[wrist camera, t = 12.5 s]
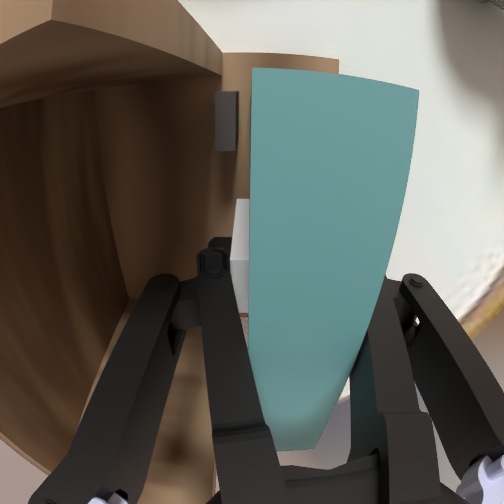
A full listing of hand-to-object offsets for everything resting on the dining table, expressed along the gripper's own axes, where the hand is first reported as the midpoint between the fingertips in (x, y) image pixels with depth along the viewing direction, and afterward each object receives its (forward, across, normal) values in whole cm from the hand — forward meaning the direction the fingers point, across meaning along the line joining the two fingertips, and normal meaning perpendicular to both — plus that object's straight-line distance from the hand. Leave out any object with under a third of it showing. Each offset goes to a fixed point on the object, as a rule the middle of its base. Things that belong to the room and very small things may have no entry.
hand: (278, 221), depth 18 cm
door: (+2, 0, 0) cm, 2 cm away
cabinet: (+4, -6, 0) cm, 7 cm away
